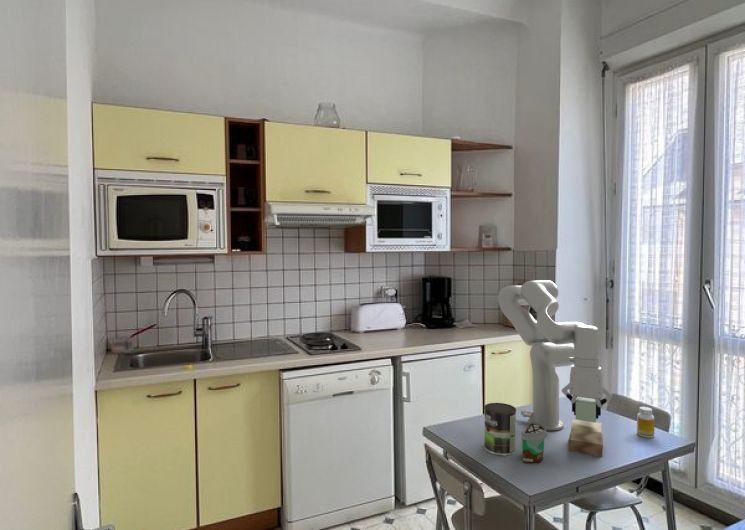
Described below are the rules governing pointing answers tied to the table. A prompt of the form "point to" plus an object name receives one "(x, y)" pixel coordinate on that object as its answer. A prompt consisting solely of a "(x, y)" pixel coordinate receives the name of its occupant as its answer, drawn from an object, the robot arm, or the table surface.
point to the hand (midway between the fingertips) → (586, 415)
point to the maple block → (586, 431)
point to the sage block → (586, 409)
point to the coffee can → (500, 429)
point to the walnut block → (585, 447)
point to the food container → (533, 443)
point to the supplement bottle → (645, 422)
